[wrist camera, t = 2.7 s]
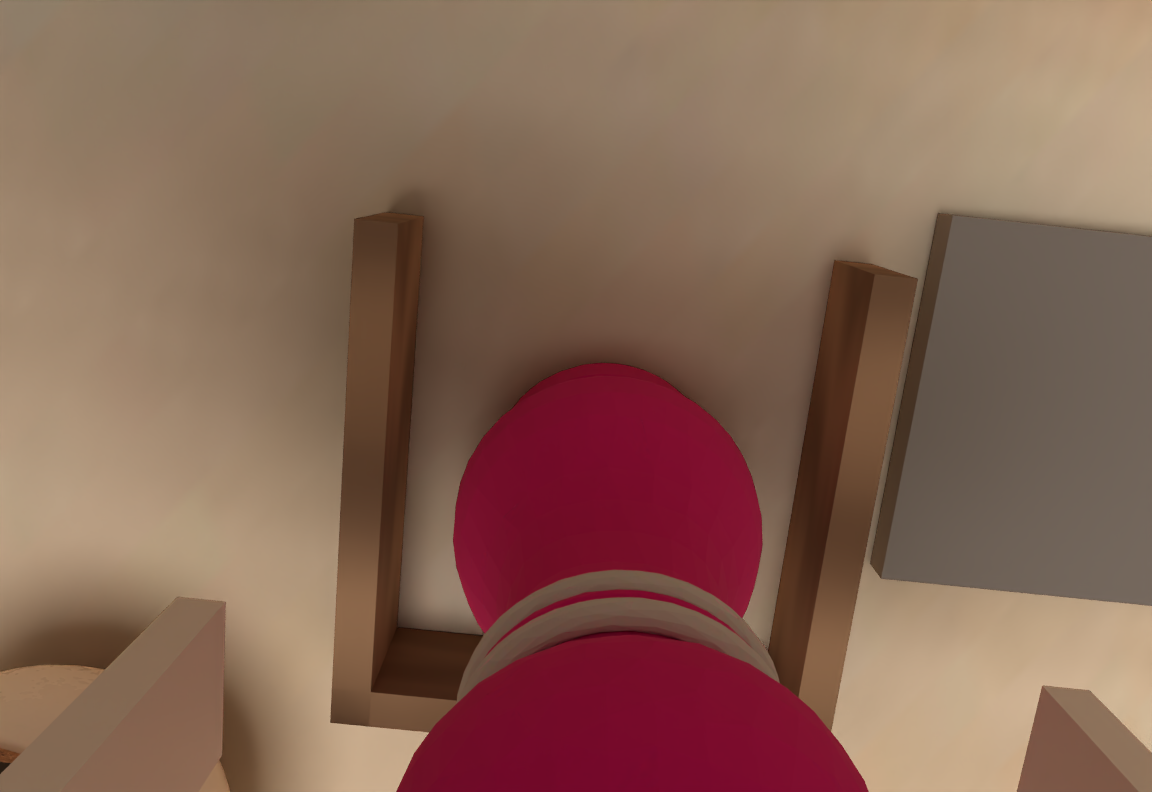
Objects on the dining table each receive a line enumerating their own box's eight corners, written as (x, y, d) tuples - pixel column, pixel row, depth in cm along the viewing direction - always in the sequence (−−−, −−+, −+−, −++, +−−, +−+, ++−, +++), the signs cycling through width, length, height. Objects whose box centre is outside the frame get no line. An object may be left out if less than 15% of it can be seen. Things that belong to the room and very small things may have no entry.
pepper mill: (473, 341, 25) (112, 903, 6) (737, 346, 25) (1250, 922, 6) (476, 585, 27) (204, 1643, 8) (724, 590, 27) (1087, 1664, 8)
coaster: (938, 213, 24) (952, 215, 23) (1310, 253, 25) (1340, 256, 24) (870, 563, 27) (881, 578, 26) (1210, 598, 27) (1233, 613, 26)
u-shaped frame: (386, 212, 25) (354, 219, 21) (872, 264, 25) (917, 279, 21) (361, 654, 28) (330, 722, 24) (794, 697, 28) (823, 770, 24)
